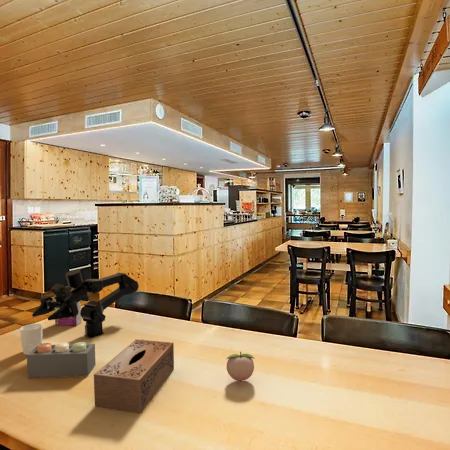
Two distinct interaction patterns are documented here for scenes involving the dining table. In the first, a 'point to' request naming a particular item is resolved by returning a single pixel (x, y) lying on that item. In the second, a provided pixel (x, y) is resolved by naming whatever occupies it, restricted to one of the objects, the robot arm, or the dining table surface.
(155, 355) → the tissue box cover
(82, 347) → the sage button
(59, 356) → the tray
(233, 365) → the decorative fruit
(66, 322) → the candy bar box
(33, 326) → the white cup
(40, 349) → the terracotta button
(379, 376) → the dining table surface
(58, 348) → the cream rounded egg shape
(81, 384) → the dining table surface
